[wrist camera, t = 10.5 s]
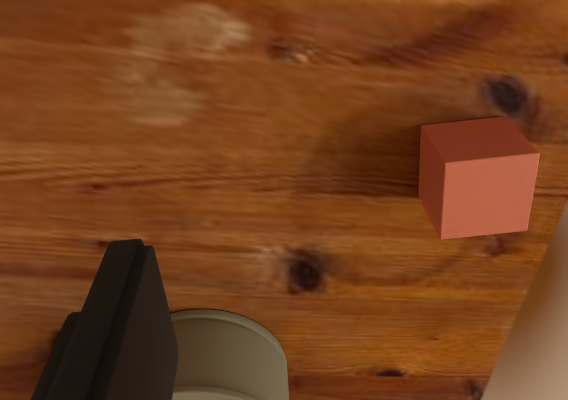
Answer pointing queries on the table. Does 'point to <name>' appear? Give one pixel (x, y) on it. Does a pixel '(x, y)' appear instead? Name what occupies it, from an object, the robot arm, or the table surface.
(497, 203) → the block
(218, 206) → the table surface
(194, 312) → the can
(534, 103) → the table surface
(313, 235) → the table surface
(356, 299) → the table surface
